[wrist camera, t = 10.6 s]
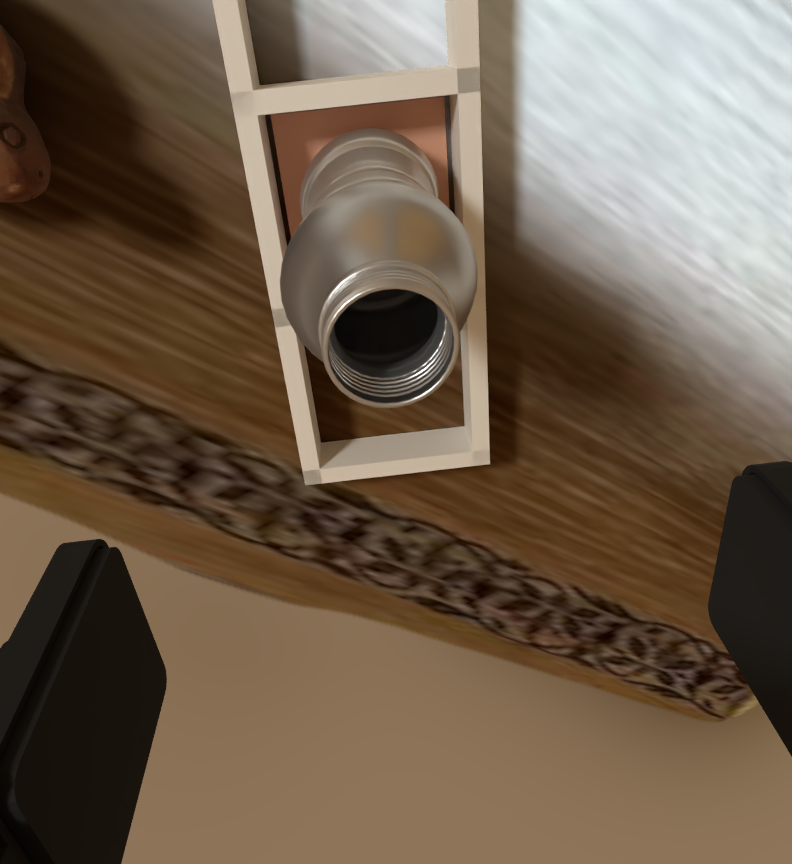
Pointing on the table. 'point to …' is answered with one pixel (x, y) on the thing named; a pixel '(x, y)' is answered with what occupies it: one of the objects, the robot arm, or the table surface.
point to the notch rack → (295, 151)
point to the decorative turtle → (18, 131)
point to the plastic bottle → (378, 270)
